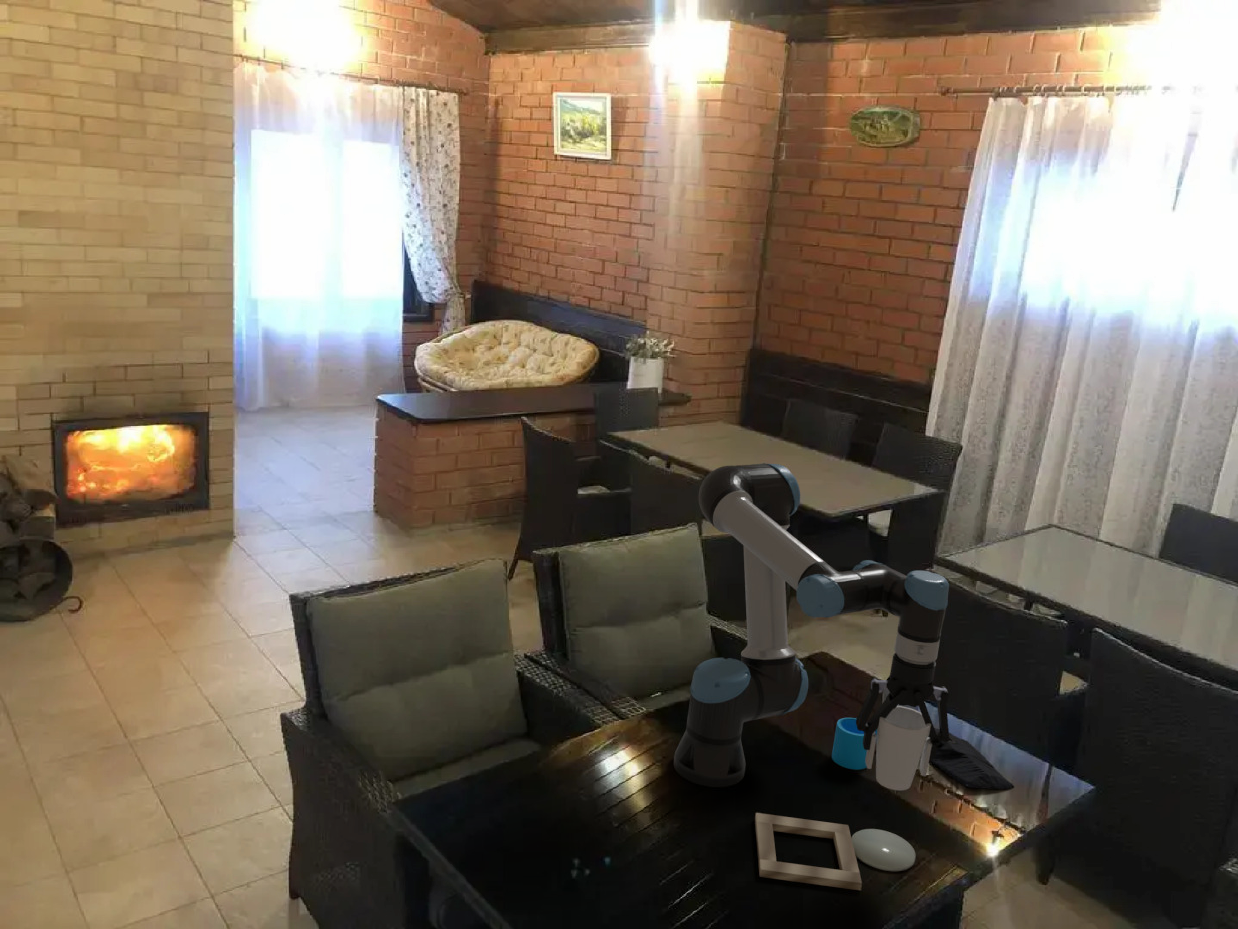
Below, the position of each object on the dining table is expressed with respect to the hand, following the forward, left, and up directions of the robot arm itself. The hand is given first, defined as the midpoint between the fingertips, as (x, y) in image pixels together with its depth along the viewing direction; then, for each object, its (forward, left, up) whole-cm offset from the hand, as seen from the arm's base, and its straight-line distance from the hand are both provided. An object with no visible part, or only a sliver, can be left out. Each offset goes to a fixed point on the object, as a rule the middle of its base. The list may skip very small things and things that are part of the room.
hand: (895, 768), depth 190 cm
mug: (0, +36, -18) cm, 40 cm away
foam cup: (0, 0, -3) cm, 3 cm away
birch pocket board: (-15, -3, -18) cm, 23 cm away
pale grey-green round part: (0, +1, -18) cm, 18 cm away
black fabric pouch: (+24, +38, -19) cm, 49 cm away
